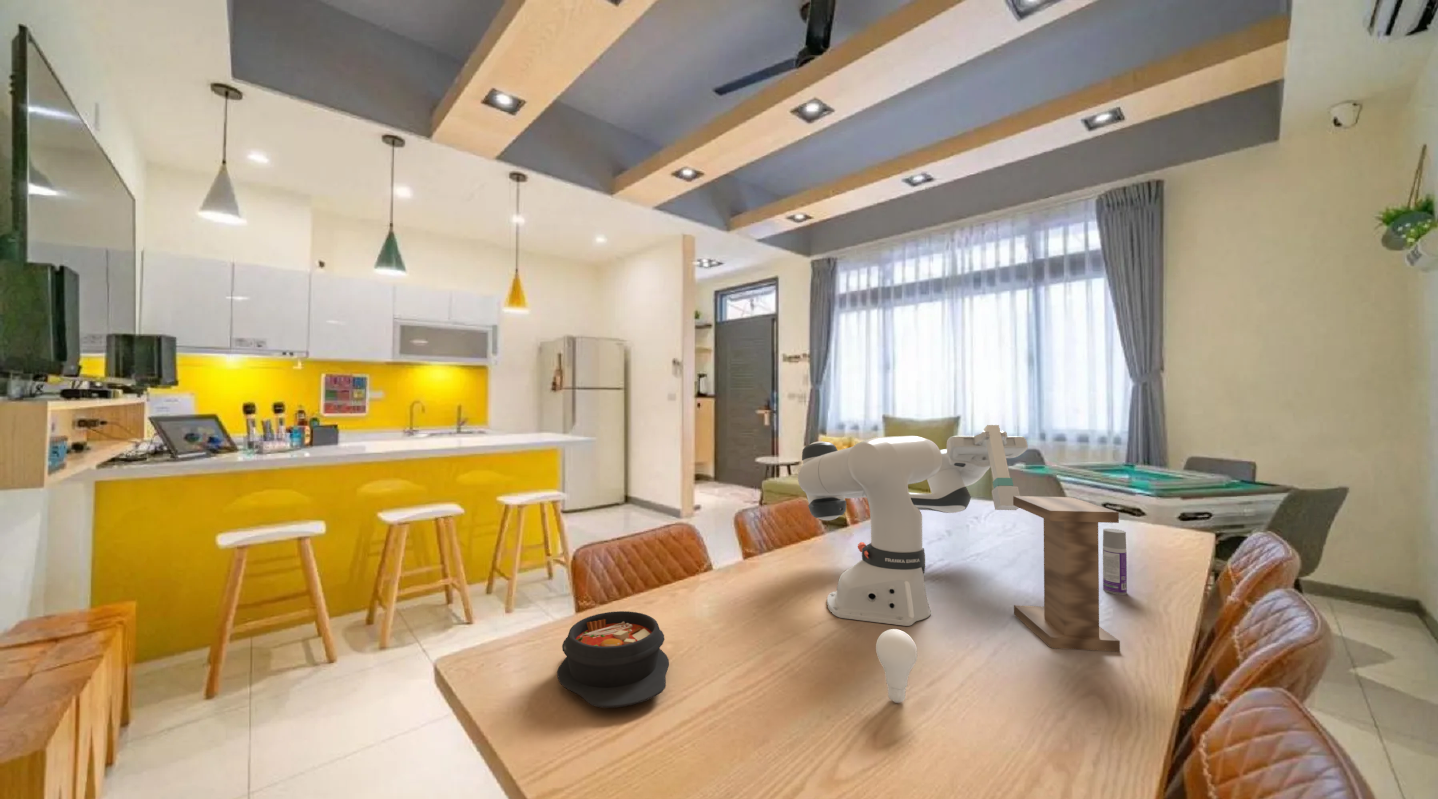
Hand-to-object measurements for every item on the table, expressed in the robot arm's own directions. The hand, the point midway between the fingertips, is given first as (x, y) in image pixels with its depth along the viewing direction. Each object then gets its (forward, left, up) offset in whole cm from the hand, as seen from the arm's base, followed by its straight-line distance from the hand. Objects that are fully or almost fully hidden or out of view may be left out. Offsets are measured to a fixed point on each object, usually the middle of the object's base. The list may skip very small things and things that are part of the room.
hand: (995, 433), depth 139 cm
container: (+25, -7, -39) cm, 46 cm away
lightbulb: (-39, -63, -39) cm, 84 cm away
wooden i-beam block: (0, -33, -38) cm, 51 cm away
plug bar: (0, -1, -9) cm, 9 cm away
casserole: (-85, -61, -39) cm, 112 cm away
